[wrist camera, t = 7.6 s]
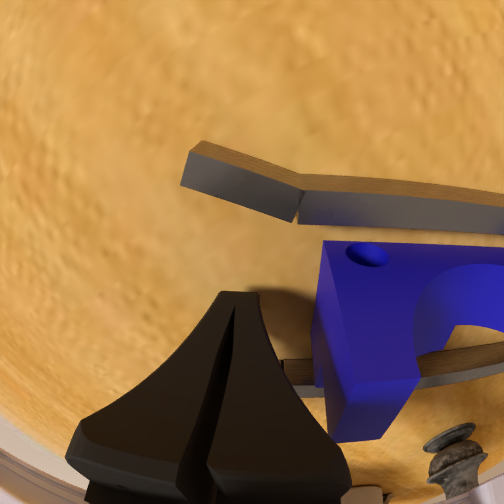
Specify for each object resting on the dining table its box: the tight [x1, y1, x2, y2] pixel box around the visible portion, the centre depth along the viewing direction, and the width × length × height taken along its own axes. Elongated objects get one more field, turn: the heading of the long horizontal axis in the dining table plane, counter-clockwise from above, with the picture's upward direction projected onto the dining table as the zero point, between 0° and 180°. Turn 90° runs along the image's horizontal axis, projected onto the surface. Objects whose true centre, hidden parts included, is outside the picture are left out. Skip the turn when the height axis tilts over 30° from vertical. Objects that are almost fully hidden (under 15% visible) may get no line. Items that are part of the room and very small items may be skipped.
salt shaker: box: [423, 423, 488, 500], centre depth 14 cm, size 6×6×12 cm
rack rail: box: [180, 141, 504, 398], centre depth 11 cm, size 14×20×2 cm
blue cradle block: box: [311, 240, 504, 443], centre depth 9 cm, size 12×4×6 cm, turn 91°
